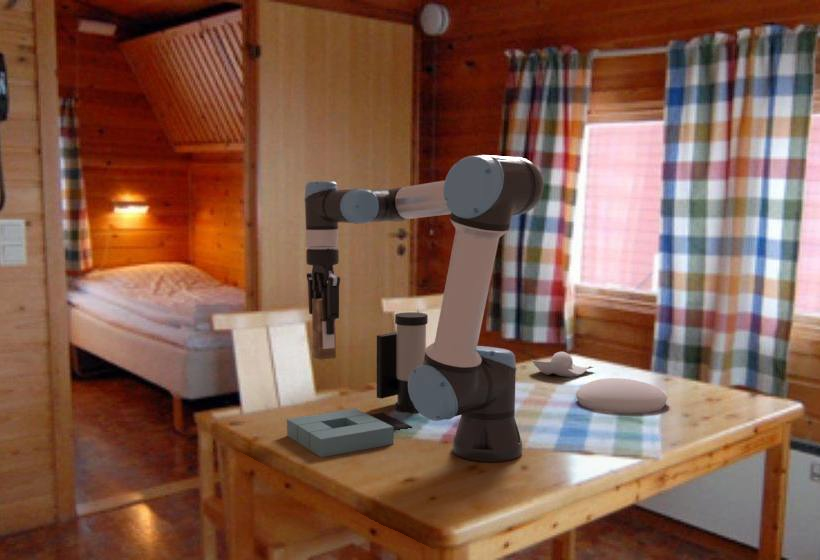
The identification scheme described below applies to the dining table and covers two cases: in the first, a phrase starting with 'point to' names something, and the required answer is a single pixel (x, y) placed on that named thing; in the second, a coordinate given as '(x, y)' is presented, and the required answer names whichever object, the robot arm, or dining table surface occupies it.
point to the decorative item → (621, 396)
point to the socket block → (339, 432)
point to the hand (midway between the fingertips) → (324, 346)
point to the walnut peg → (320, 332)
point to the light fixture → (401, 358)
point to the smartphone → (391, 421)
